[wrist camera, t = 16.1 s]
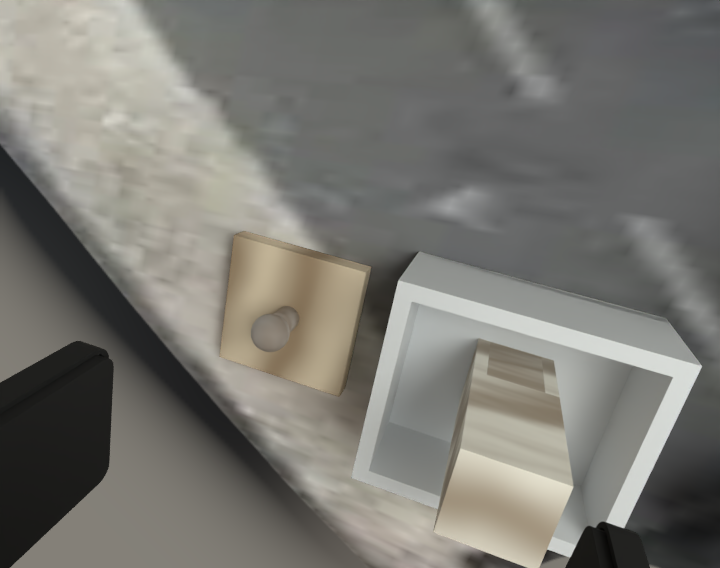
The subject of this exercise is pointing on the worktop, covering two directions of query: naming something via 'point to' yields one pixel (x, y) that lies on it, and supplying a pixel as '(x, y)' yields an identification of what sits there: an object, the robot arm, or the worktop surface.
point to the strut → (506, 457)
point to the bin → (535, 336)
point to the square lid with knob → (292, 311)
